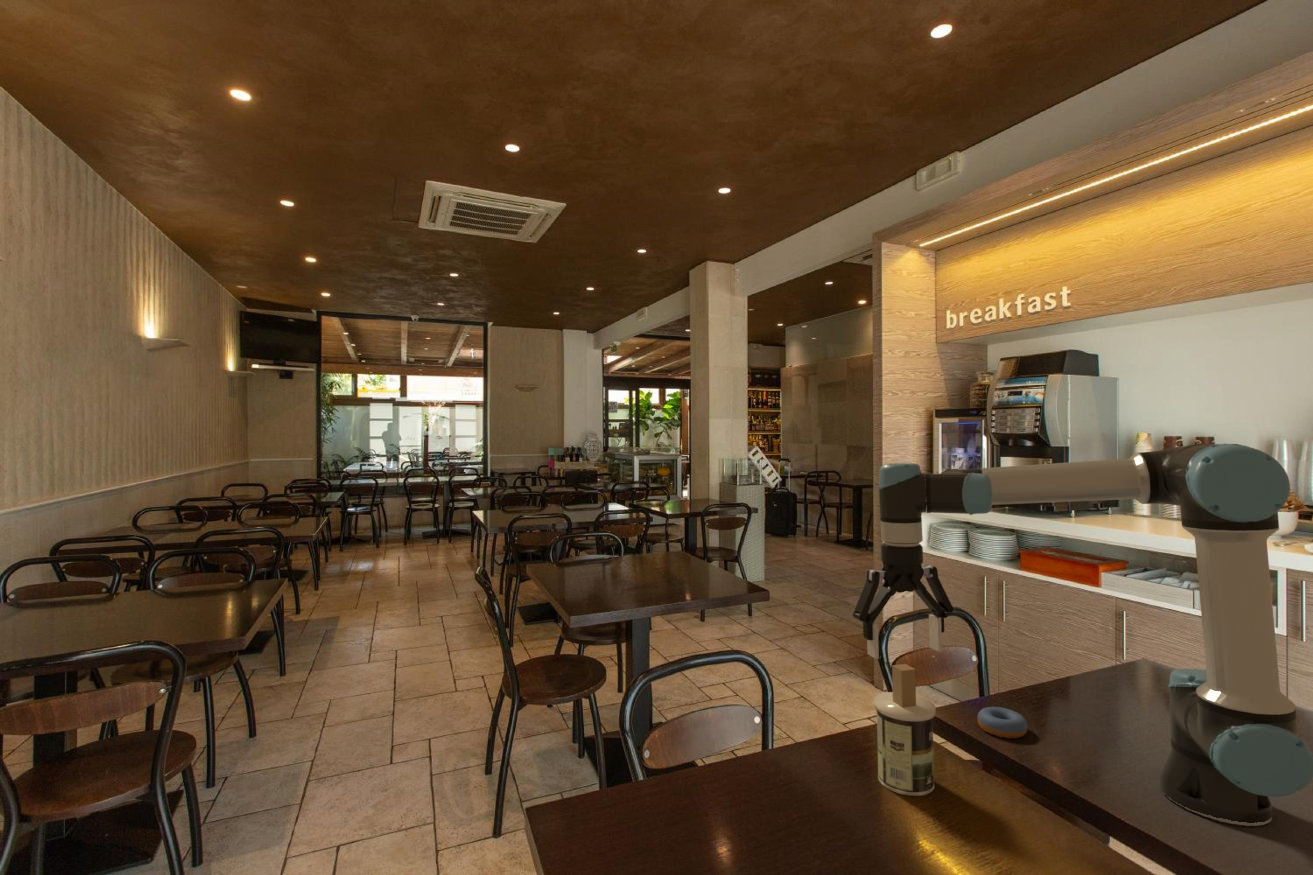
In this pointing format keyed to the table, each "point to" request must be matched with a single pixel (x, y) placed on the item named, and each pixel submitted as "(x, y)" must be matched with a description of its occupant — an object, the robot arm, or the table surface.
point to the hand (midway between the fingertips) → (904, 652)
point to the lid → (904, 698)
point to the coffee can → (905, 755)
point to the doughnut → (1002, 722)
